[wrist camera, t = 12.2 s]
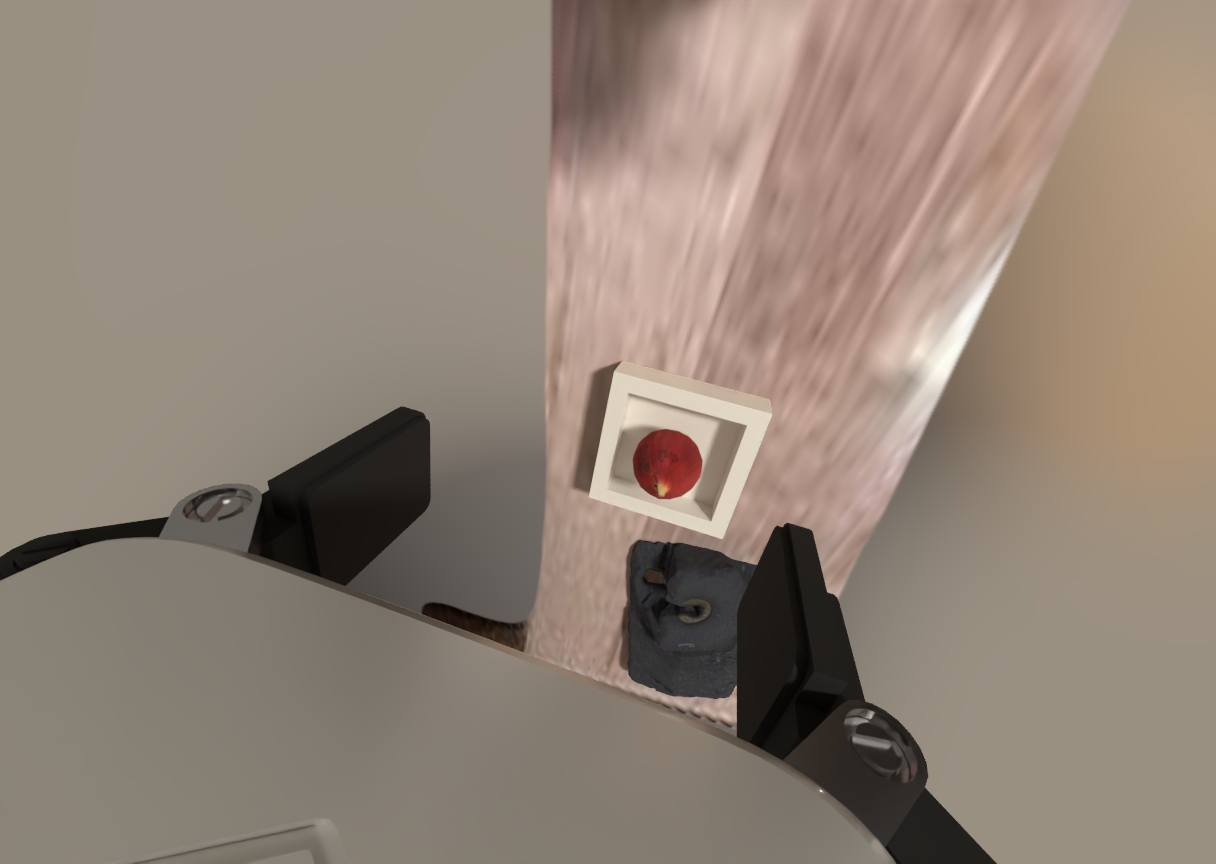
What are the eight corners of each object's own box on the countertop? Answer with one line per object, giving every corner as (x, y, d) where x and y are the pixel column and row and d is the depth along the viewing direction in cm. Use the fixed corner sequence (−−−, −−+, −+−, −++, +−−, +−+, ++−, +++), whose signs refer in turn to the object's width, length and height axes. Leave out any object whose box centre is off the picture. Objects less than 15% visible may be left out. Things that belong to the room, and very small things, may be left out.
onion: (629, 440, 42) (607, 484, 35) (673, 402, 39) (660, 442, 32) (671, 482, 43) (658, 534, 36) (718, 448, 40) (714, 497, 33)
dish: (622, 360, 40) (613, 371, 37) (769, 399, 38) (772, 413, 35) (597, 480, 46) (588, 497, 43) (723, 518, 44) (722, 539, 41)
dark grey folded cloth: (614, 660, 58) (604, 694, 53) (637, 526, 47) (628, 555, 43) (734, 698, 55) (733, 737, 51) (786, 564, 45) (791, 599, 41)
